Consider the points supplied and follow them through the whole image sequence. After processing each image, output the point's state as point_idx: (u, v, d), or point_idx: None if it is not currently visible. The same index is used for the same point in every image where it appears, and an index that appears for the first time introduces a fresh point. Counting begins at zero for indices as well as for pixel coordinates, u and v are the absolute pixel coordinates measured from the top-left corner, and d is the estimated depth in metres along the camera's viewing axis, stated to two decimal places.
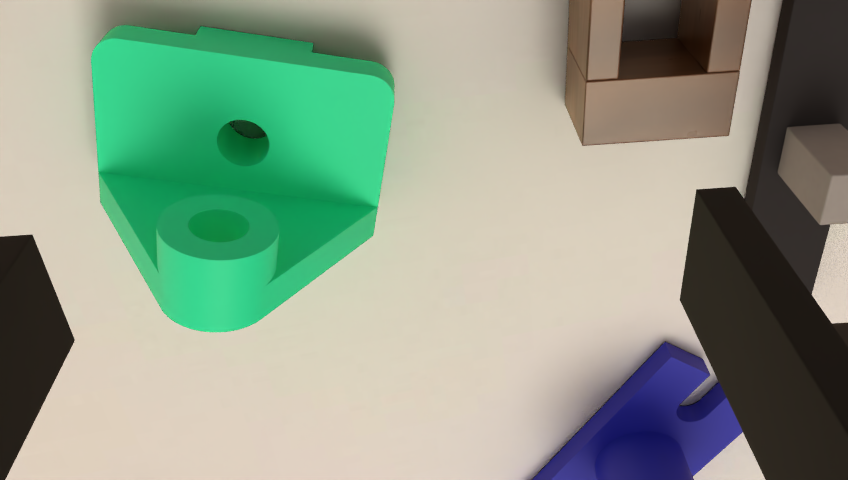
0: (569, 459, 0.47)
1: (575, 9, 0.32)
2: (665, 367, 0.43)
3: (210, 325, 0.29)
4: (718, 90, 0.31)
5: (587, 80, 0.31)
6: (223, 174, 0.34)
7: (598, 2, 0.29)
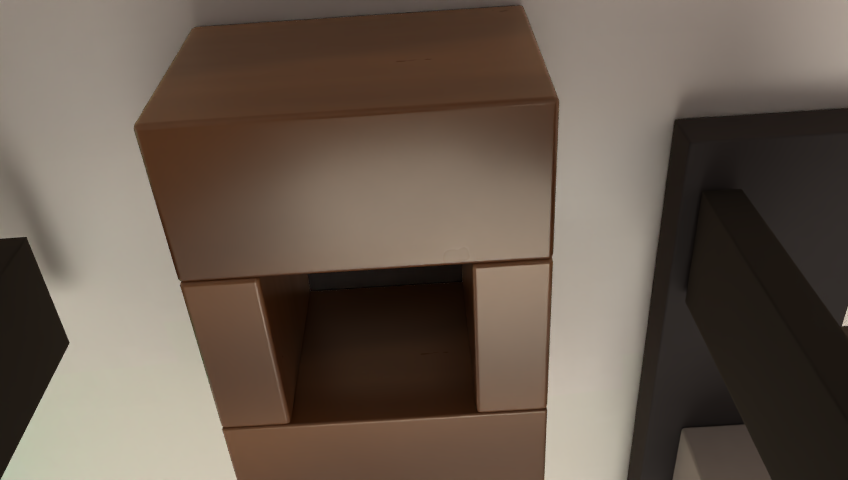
0: None
1: None
2: None
3: None
4: (506, 440, 0.15)
5: (227, 425, 0.15)
6: None
7: (201, 298, 0.13)
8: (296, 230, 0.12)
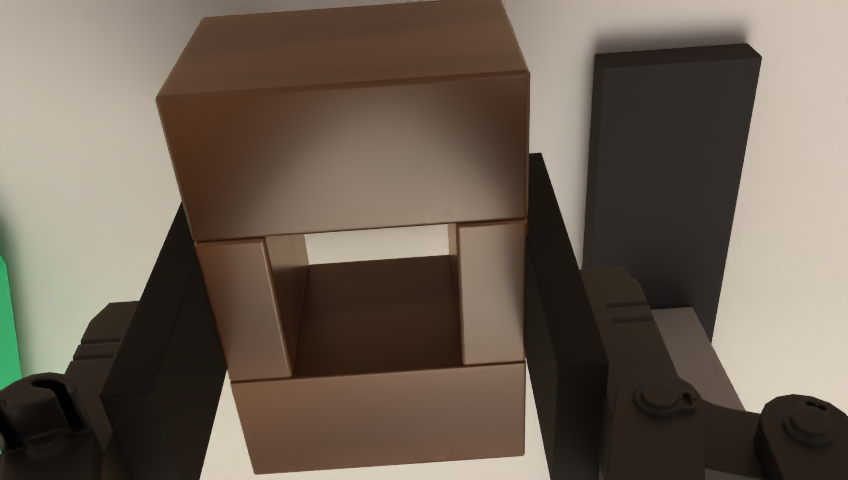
0: None
1: None
2: None
3: None
4: (489, 392, 0.17)
5: (234, 379, 0.16)
6: None
7: (213, 257, 0.14)
8: (298, 193, 0.14)
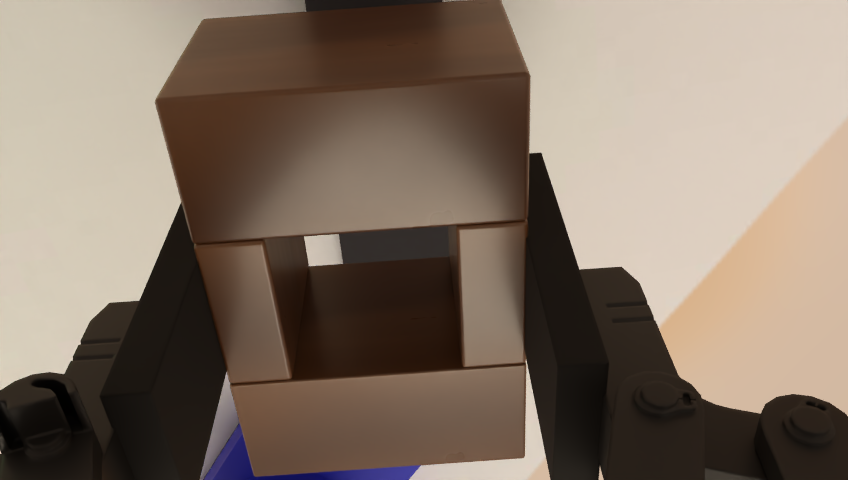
0: None
1: None
2: None
3: None
4: (490, 394, 0.16)
5: (234, 381, 0.16)
6: None
7: (212, 259, 0.14)
8: (298, 195, 0.14)
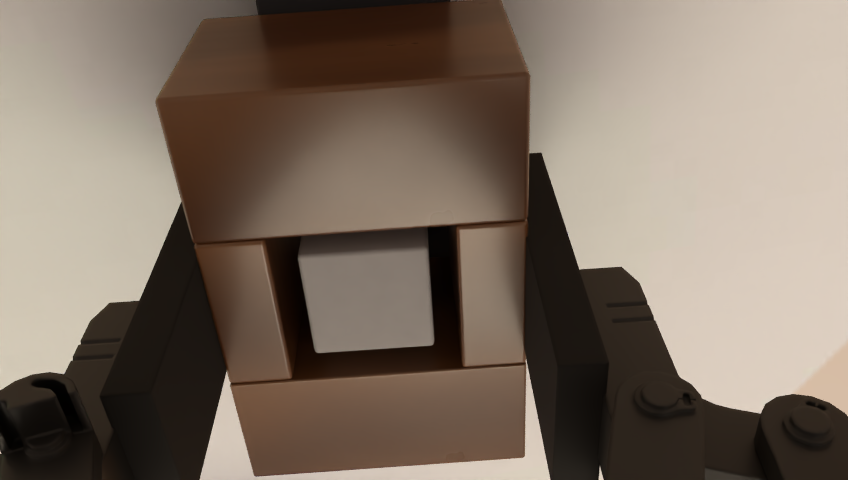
0: None
1: None
2: None
3: None
4: (490, 394, 0.16)
5: (234, 380, 0.16)
6: None
7: (213, 259, 0.14)
8: (299, 195, 0.14)
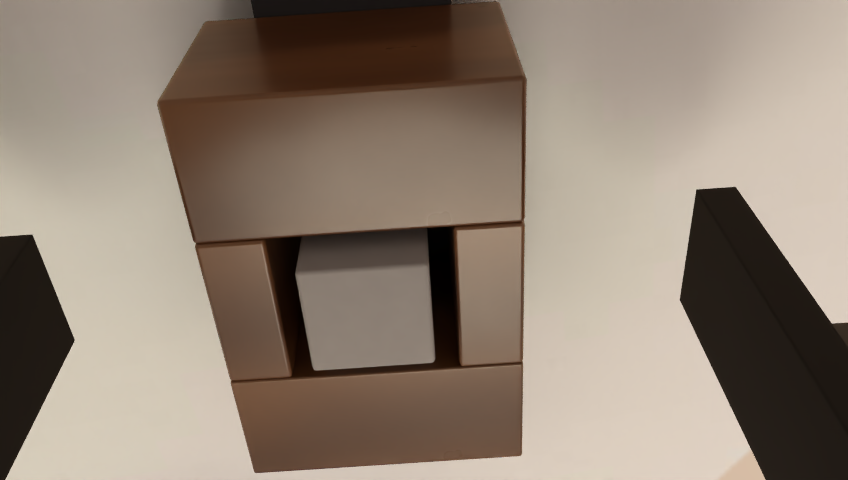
0: None
1: None
2: None
3: None
4: (487, 392, 0.17)
5: (235, 378, 0.16)
6: None
7: (213, 258, 0.15)
8: (298, 196, 0.14)
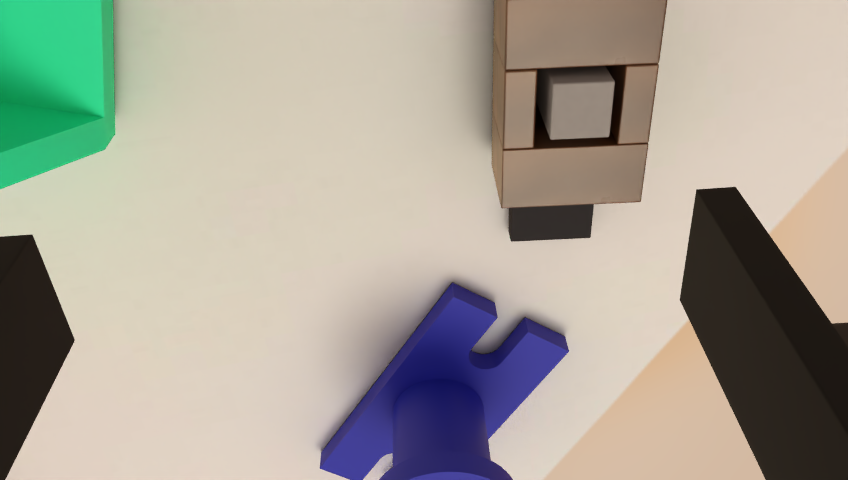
0: (365, 408, 0.46)
1: (496, 79, 0.34)
2: (448, 308, 0.42)
3: None
4: (628, 160, 0.33)
5: (504, 148, 0.33)
6: None
7: (512, 78, 0.31)
8: (558, 46, 0.30)
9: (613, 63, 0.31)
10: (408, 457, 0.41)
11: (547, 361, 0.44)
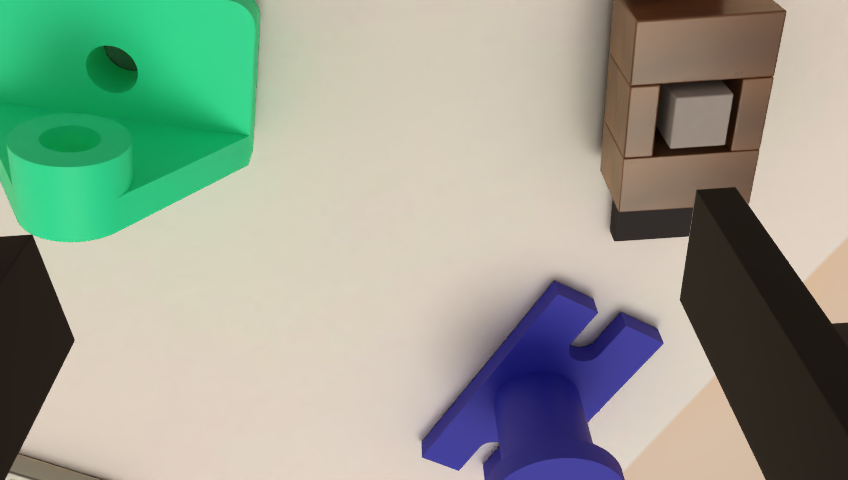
0: (468, 400, 0.49)
1: (613, 92, 0.36)
2: (552, 304, 0.44)
3: (61, 234, 0.30)
4: (740, 165, 0.36)
5: (625, 157, 0.35)
6: (96, 102, 0.35)
7: (636, 93, 0.33)
8: (681, 63, 0.33)
9: (731, 77, 0.33)
10: (519, 445, 0.44)
11: (642, 353, 0.47)
